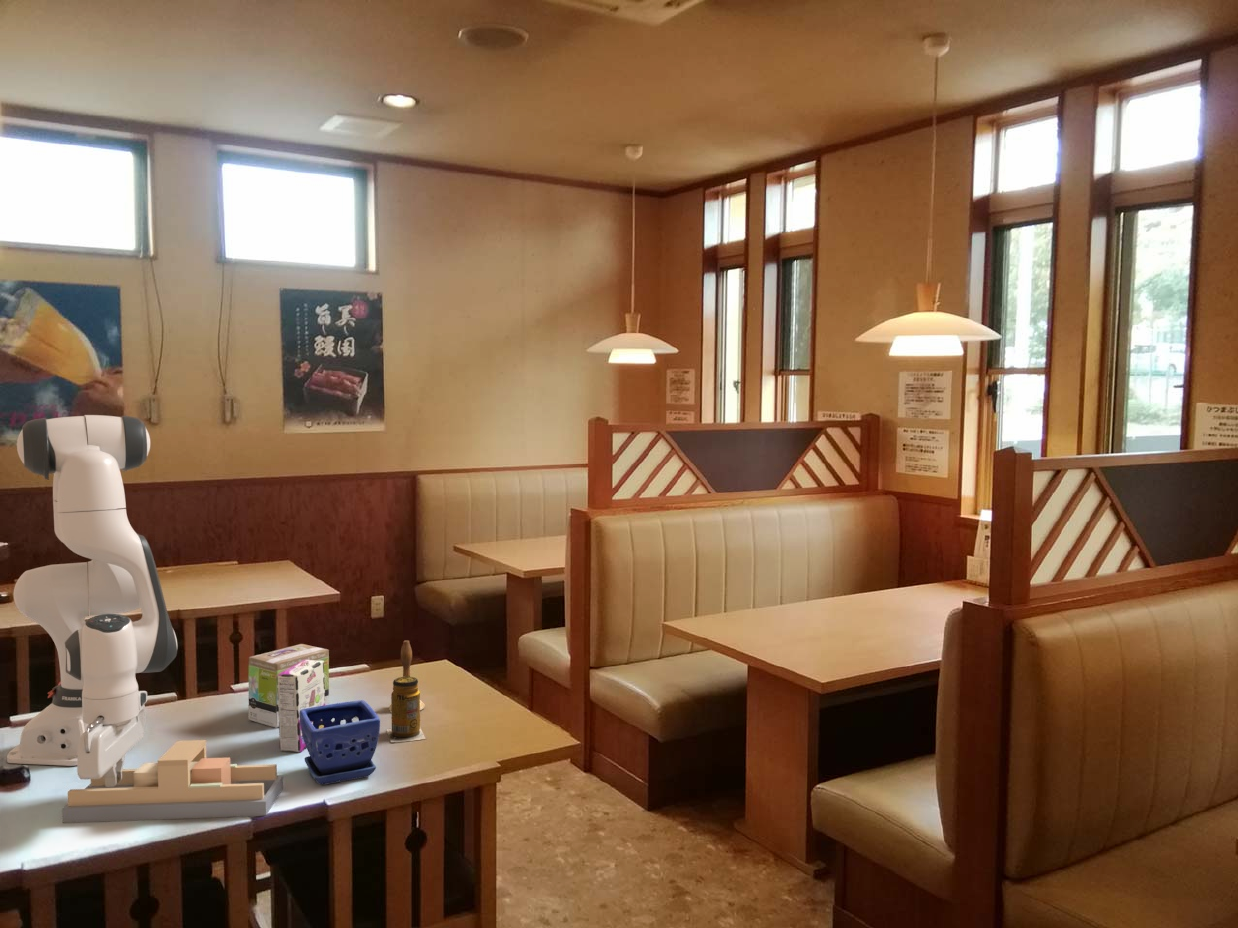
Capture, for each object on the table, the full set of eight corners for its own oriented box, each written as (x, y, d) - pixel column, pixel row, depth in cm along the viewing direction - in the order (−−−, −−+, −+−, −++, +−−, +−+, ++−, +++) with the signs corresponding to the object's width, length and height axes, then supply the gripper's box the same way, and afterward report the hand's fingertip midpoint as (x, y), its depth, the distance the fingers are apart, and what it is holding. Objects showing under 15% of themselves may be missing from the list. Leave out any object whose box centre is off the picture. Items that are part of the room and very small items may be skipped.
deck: (62, 822, 163) (60, 765, 162) (93, 794, 175) (91, 741, 174) (266, 815, 166) (264, 759, 166) (283, 787, 178) (281, 735, 177)
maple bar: (134, 797, 167) (133, 772, 167) (144, 787, 172) (144, 762, 171) (193, 795, 168) (192, 771, 168) (202, 785, 173) (201, 761, 172)
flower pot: (383, 778, 183) (382, 717, 182) (312, 792, 176) (311, 729, 175) (365, 755, 194) (364, 698, 193) (298, 767, 188) (296, 708, 187)
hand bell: (385, 705, 226) (384, 638, 224) (420, 700, 229) (419, 635, 228) (392, 715, 218) (391, 647, 217) (428, 710, 222) (428, 643, 220)
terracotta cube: (192, 796, 168) (191, 768, 168) (202, 784, 173) (201, 758, 173) (221, 795, 168) (221, 768, 168) (230, 784, 173) (230, 757, 173)
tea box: (277, 729, 209) (275, 663, 208) (247, 720, 214) (246, 656, 213) (330, 710, 222) (329, 647, 221) (301, 702, 227) (300, 641, 226)
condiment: (419, 726, 211) (419, 673, 210) (425, 739, 203) (425, 684, 202) (386, 730, 209) (385, 676, 208) (390, 743, 201) (390, 687, 200)
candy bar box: (305, 732, 207) (304, 658, 206) (327, 734, 206) (325, 659, 205) (277, 751, 196) (275, 673, 195) (299, 753, 195) (298, 674, 194)
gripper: (105, 727, 158) (107, 808, 160) (150, 689, 179) (153, 760, 180) (64, 728, 158) (68, 809, 159) (115, 690, 178) (118, 762, 179)
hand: (113, 783), depth 169 cm, fingers closed
